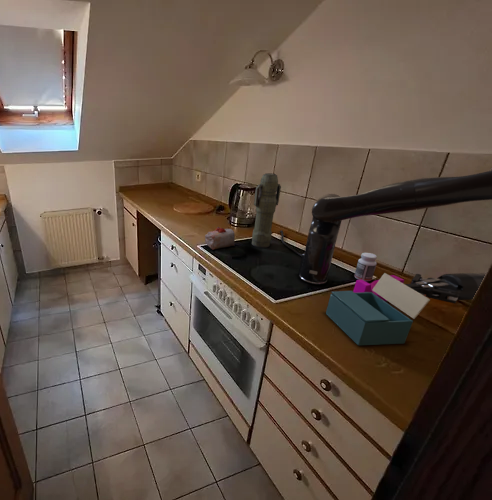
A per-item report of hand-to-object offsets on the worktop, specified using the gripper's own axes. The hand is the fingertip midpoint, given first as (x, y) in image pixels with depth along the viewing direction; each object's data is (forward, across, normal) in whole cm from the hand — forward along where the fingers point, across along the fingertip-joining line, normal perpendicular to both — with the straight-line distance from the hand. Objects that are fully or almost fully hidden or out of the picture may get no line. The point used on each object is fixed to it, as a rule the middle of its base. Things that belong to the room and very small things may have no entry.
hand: (404, 288), depth 84 cm
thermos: (+12, -67, +13) cm, 70 cm away
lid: (+1, 0, +2) cm, 2 cm away
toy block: (-6, -16, +13) cm, 21 cm away
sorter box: (+9, 0, +13) cm, 16 cm away
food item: (+34, -67, +13) cm, 76 cm away
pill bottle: (-12, -29, +13) cm, 34 cm away
